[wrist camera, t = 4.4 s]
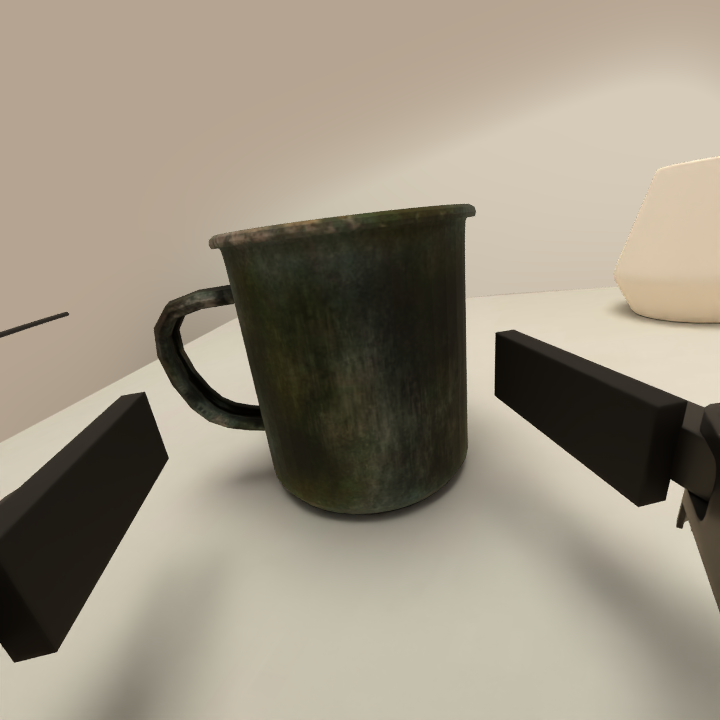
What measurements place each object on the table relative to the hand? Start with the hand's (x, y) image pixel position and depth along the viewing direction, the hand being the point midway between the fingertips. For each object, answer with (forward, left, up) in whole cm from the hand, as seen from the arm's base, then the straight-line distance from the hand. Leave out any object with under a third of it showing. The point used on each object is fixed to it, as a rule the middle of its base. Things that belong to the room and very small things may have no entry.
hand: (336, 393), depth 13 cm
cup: (-8, +41, -6) cm, 42 cm away
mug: (-4, +1, -6) cm, 7 cm away
